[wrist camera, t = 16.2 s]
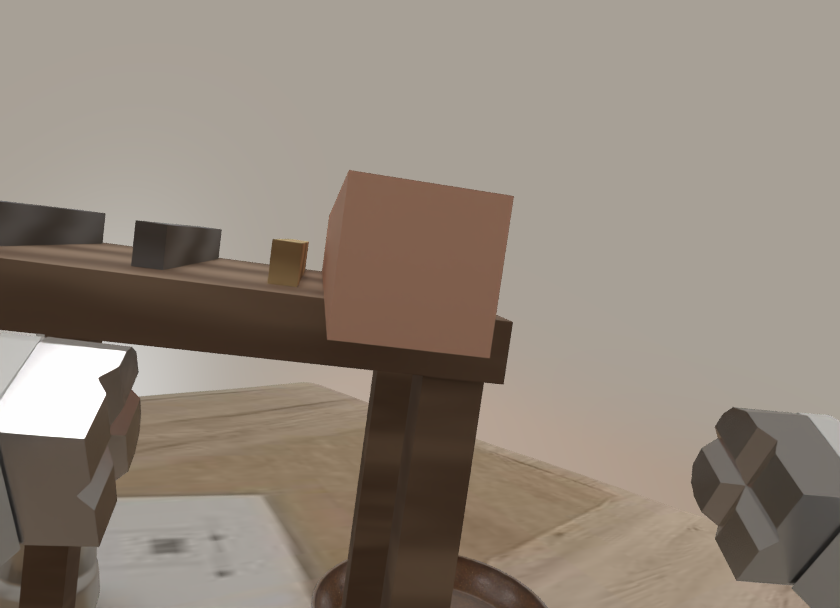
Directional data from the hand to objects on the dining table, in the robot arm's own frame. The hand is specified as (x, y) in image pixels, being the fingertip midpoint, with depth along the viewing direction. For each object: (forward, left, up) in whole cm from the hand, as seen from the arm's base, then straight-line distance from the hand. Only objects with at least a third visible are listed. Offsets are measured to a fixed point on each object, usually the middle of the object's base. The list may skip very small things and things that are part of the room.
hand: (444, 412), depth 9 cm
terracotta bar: (-13, +7, 0) cm, 15 cm away
